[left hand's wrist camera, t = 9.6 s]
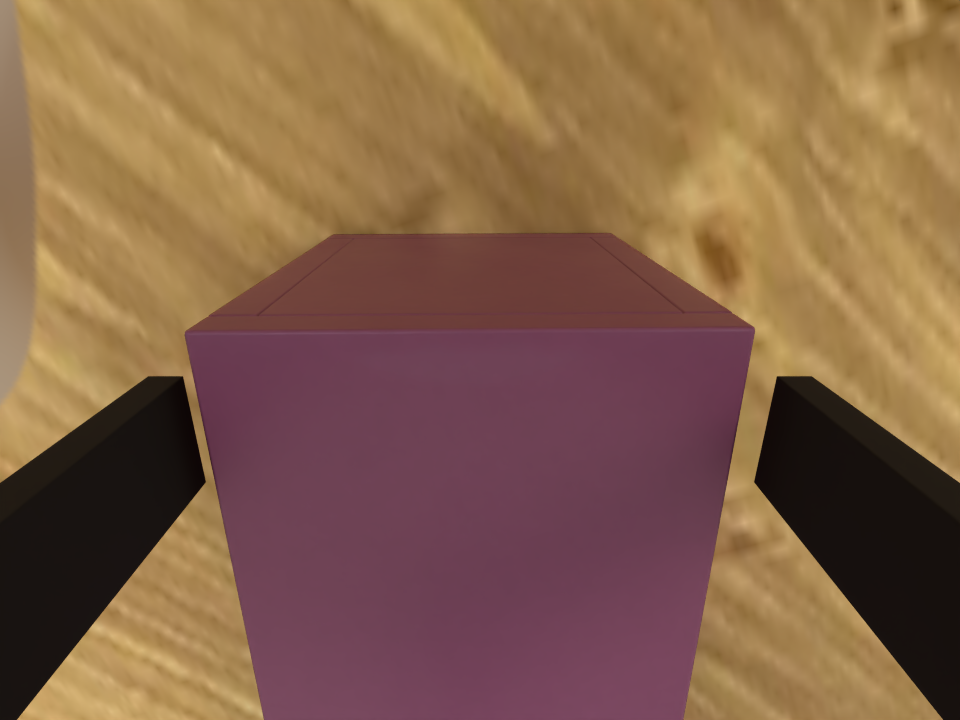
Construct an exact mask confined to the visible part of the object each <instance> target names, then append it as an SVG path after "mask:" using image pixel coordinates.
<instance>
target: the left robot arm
mask: <svg viewBox="0 0 960 720" xmlns="http://www.w3.org/2000/svg"><path fill="white" fill-rule="evenodd" d="M205 483H206V481H205V476H204V472H203V467H202V462H201V458H200V453H199V448H198V444H197V439H196V434H195V430H194V425H193V421H192V416H191V411H190V407H189V402H188V397H187V393H186V388H185V384H184V379H183V376H148V377H147V378H145V379H144V380H143V381H141V382H140V383H138V384H137V385H136V386H134V387H133V388H132V389H130V390H129V391H127V392H126V393H125V394H123V395H122V396H120V397H119V398H118V399H116V400H115V401H113V402H112V403H111V404H109V405H108V406H107V407H105V408H104V409H102V410H101V411H100V412H98V413H97V414H95V415H94V416H93V417H91V418H90V419H89V420H87V421H86V422H84V423H83V424H82V425H80V426H79V427H77V428H76V429H75V430H73V431H72V432H70V433H69V434H68V435H66V436H65V437H64V438H62V439H61V440H59V441H58V442H57V443H55V444H54V445H52V446H51V447H50V448H48V449H47V450H45V451H44V452H43V453H41V454H40V455H39V456H37V457H36V458H34V459H33V460H32V461H30V462H29V463H27V464H26V465H25V466H23V467H22V468H20V469H19V470H18V471H16V472H15V473H14V474H12V475H11V476H9V477H8V478H7V479H5V480H4V481H2V482H1V483H0V720H17V719H18V718H19V716H20V715H21V714H22V713H23V711H24V710H25V709H26V707H27V706H28V705H29V704H30V702H31V701H32V700H33V699H34V697H35V696H36V695H37V694H38V692H39V691H40V690H41V689H42V687H43V686H44V685H45V684H46V682H47V681H48V680H49V679H50V677H51V676H52V675H53V674H54V672H55V671H56V670H57V669H58V667H59V666H60V665H61V664H62V662H63V661H64V660H65V658H66V657H67V656H68V655H69V653H70V652H71V651H72V650H73V648H74V647H75V646H76V645H77V643H78V642H79V641H80V640H81V638H82V637H83V636H84V635H85V633H86V632H87V631H88V630H89V628H90V627H91V626H92V625H93V623H94V622H95V621H96V620H97V618H98V617H99V616H100V614H101V613H102V612H103V611H104V609H105V608H106V607H107V606H108V604H109V603H110V602H111V601H112V599H113V598H114V597H115V596H116V594H117V593H118V592H119V591H120V589H121V588H122V587H123V586H124V584H125V583H126V582H127V581H128V579H129V578H130V577H131V576H132V574H133V573H134V572H135V570H136V569H137V568H138V567H139V565H140V564H141V563H142V562H143V560H144V559H145V558H146V557H147V555H148V554H149V553H150V552H151V550H152V549H153V548H154V547H155V545H156V544H157V543H158V542H159V540H160V539H161V538H162V537H163V535H164V534H165V533H166V532H167V530H168V529H169V528H170V527H171V525H172V524H173V523H174V521H175V520H176V519H177V518H178V516H179V515H180V514H181V513H182V511H183V510H184V509H185V508H186V506H187V505H188V504H189V503H190V501H191V500H192V499H193V498H194V496H195V495H196V494H197V493H198V491H199V490H200V489H201V488H202V486H203V485H204V484H205ZM754 483H755V484H756V485H757V486H758V488H759V489H760V490H761V491H762V493H763V494H764V495H765V496H766V498H767V499H768V500H769V501H770V503H771V504H772V505H773V506H774V508H775V509H776V510H777V511H778V513H779V514H780V515H781V516H782V518H783V519H784V520H785V521H786V523H787V524H788V525H789V527H790V528H791V529H792V530H793V532H794V533H795V534H796V535H797V537H798V538H799V539H800V540H801V542H802V543H803V544H804V545H805V547H806V548H807V549H808V550H809V552H810V553H811V554H812V555H813V557H814V558H815V559H816V560H817V562H818V563H819V564H820V565H821V567H822V568H823V569H824V570H825V572H826V573H827V574H828V576H829V577H830V578H831V579H832V581H833V582H834V583H835V584H836V586H837V587H838V588H839V589H840V591H841V592H842V593H843V594H844V596H845V597H846V598H847V599H848V601H849V602H850V603H851V604H852V606H853V607H854V608H855V609H856V611H857V612H858V613H859V614H860V616H861V617H862V618H863V620H864V621H865V622H866V623H867V625H868V626H869V627H870V628H871V630H872V631H873V632H874V633H875V635H876V636H877V637H878V638H879V640H880V641H881V642H882V643H883V645H884V646H885V647H886V648H887V650H888V651H889V652H890V653H891V655H892V656H893V657H894V658H895V660H896V661H897V662H898V664H899V665H900V666H901V667H902V669H903V670H904V671H905V672H906V674H907V675H908V676H909V677H910V679H911V680H912V681H913V682H914V684H915V685H916V686H917V687H918V689H919V690H920V691H921V692H922V694H923V695H924V696H925V697H926V699H927V700H928V701H929V702H930V704H931V705H932V706H933V707H934V709H935V710H936V711H937V713H938V714H939V715H940V716H941V718H942V719H943V720H960V483H959V482H958V481H956V480H955V479H953V478H952V477H951V476H949V475H948V474H946V473H945V472H944V471H942V470H941V469H940V468H938V467H937V466H935V465H934V464H933V463H931V462H930V461H928V460H927V459H926V458H924V457H923V456H921V455H920V454H919V453H917V452H916V451H915V450H913V449H912V448H910V447H909V446H908V445H906V444H905V443H903V442H902V441H901V440H899V439H898V438H896V437H895V436H894V435H892V434H891V433H890V432H888V431H887V430H885V429H884V428H883V427H881V426H880V425H878V424H877V423H876V422H874V421H873V420H871V419H870V418H869V417H867V416H866V415H865V414H863V413H862V412H860V411H859V410H858V409H856V408H855V407H853V406H852V405H851V404H849V403H848V402H847V401H845V400H844V399H842V398H841V397H840V396H838V395H837V394H835V393H834V392H833V391H831V390H830V389H828V388H827V387H826V386H824V385H823V384H822V383H820V382H819V381H817V380H816V379H815V378H813V377H812V376H777V379H776V384H775V388H774V393H773V397H772V402H771V407H770V411H769V416H768V421H767V425H766V430H765V434H764V439H763V444H762V448H761V453H760V458H759V462H758V467H757V472H756V476H755V481H754Z"/></svg>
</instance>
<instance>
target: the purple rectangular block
mask: <svg viewBox="0 0 960 720" xmlns="http://www.w3.org/2000/svg"><path fill="white" fill-rule="evenodd" d="M754 334H755V329H754V327H753V326H751V325H750V324H748V323H747V322H745V321H744V320H742V319H741V318H739V317H738V316H736V315H734V314H732V312H731V311H729V310H728V309H726V308H725V307H723V306H722V305H720V304H718V303H717V302H715V301H714V300H712V299H711V298H709V297H708V296H706V295H705V294H703V293H702V292H700V291H699V290H697V289H696V288H694V287H692V286H691V285H689V284H688V283H686V282H685V281H683V280H682V279H680V278H679V277H677V276H676V275H674V274H673V273H671V272H669V271H668V270H666V269H665V268H663V267H662V266H660V265H659V264H657V263H656V262H654V261H653V260H651V259H650V258H648V257H647V256H645V255H643V254H642V253H640V252H639V251H637V250H636V249H634V248H633V247H631V246H630V245H628V244H627V243H625V242H624V241H622V240H621V239H619V238H617V237H616V236H614V235H613V234H611V233H535V234H342V235H332V236H330V237H329V238H327V239H326V240H324V241H323V242H321V243H319V244H318V245H316V246H315V247H313V248H312V249H310V250H309V251H307V252H306V253H304V254H303V255H301V256H300V257H298V258H296V259H295V260H293V261H292V262H290V263H289V264H287V265H286V266H284V267H283V268H281V269H280V270H278V271H276V272H275V273H273V274H272V275H270V276H269V277H267V278H266V279H264V280H263V281H261V282H260V283H258V284H256V285H255V286H253V287H252V288H250V289H249V290H247V291H246V292H244V293H243V294H241V295H240V296H238V297H236V298H235V299H233V300H232V301H230V302H229V303H227V304H226V305H224V306H223V307H221V308H220V309H218V310H216V311H215V312H213V313H212V314H210V315H209V317H207V318H205V319H203V320H202V321H200V322H199V323H197V324H196V325H194V326H193V327H191V328H190V329H188V330H187V331H185V339H186V344H187V349H188V353H189V358H190V363H191V368H192V373H193V378H194V383H195V387H196V392H197V397H198V402H199V407H200V412H201V416H202V421H203V426H204V431H205V436H206V441H207V445H208V450H209V455H210V460H211V465H212V470H213V474H214V479H215V484H216V489H217V494H218V499H219V503H220V508H221V513H222V518H223V523H224V528H225V533H226V537H227V542H228V547H229V552H230V557H231V562H232V566H233V571H234V576H235V581H236V586H237V591H238V595H239V600H240V605H241V610H242V615H243V620H244V624H245V629H246V634H247V639H248V644H249V649H250V653H251V658H252V663H253V668H254V673H255V678H256V682H257V687H258V692H259V697H260V702H261V707H262V712H263V716H264V720H683V718H684V712H685V707H686V701H687V696H688V691H689V685H690V680H691V674H692V669H693V664H694V658H695V653H696V647H697V642H698V637H699V631H700V626H701V620H702V615H703V609H704V604H705V599H706V593H707V588H708V582H709V577H710V572H711V566H712V561H713V555H714V550H715V545H716V539H717V534H718V528H719V523H720V518H721V512H722V507H723V501H724V496H725V490H726V485H727V480H728V474H729V469H730V463H731V458H732V453H733V447H734V442H735V436H736V431H737V426H738V420H739V415H740V409H741V404H742V398H743V393H744V388H745V382H746V377H747V371H748V366H749V361H750V355H751V350H752V344H753V339H754Z"/></svg>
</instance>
